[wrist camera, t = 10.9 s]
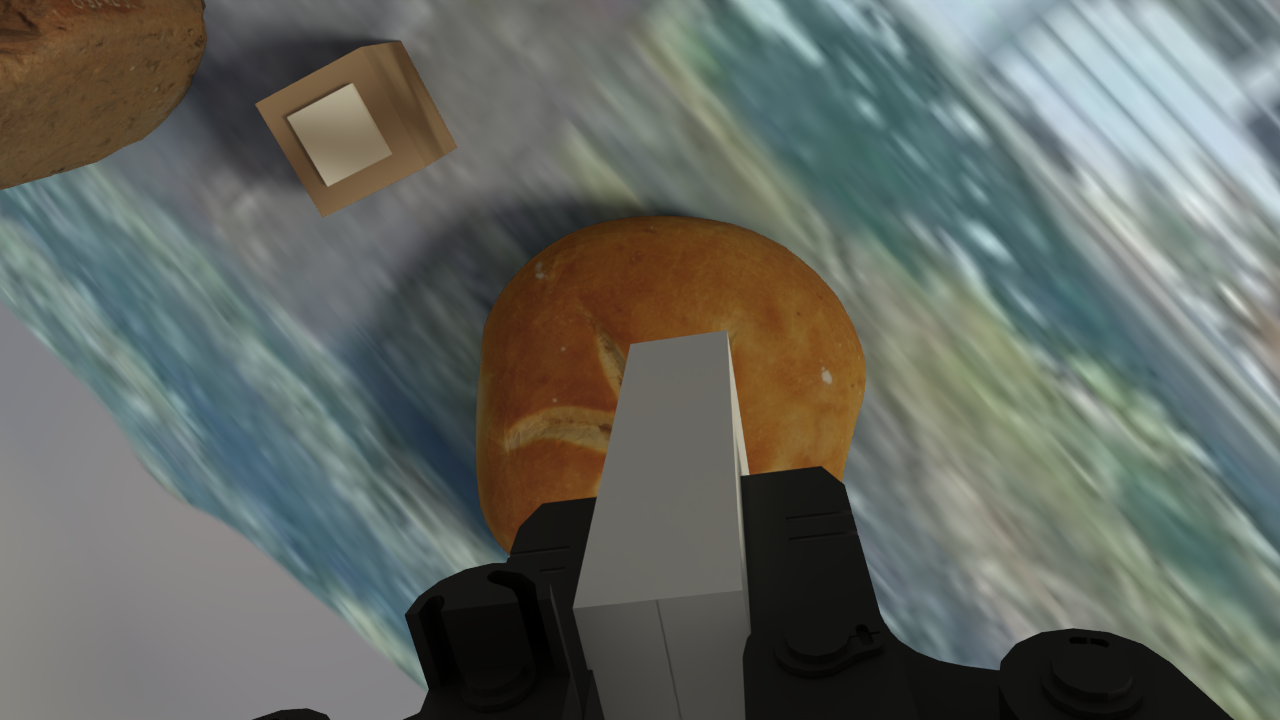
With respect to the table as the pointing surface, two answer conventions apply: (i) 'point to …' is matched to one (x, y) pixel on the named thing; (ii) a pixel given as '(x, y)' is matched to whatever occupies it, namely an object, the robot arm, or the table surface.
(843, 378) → the bread
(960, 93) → the table surface
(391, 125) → the walnut cube
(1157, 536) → the table surface
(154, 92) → the brown pitted rock
